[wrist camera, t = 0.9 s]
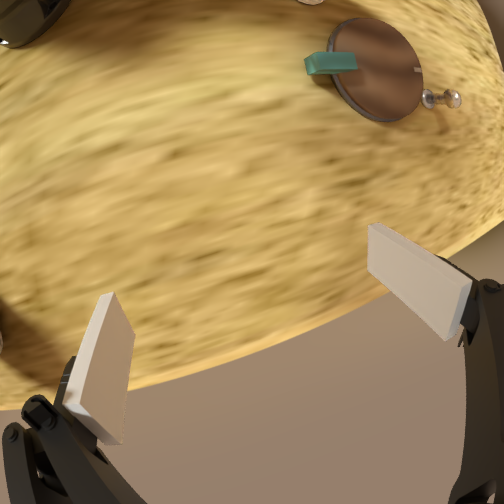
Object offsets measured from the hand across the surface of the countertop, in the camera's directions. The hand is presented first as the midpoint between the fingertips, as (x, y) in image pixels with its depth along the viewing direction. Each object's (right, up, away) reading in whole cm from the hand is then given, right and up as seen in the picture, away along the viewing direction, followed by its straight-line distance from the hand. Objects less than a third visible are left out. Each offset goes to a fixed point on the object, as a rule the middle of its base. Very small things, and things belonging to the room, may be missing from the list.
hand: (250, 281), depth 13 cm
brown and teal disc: (+17, +29, +18) cm, 38 cm away
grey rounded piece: (+31, +28, +23) cm, 48 cm away
